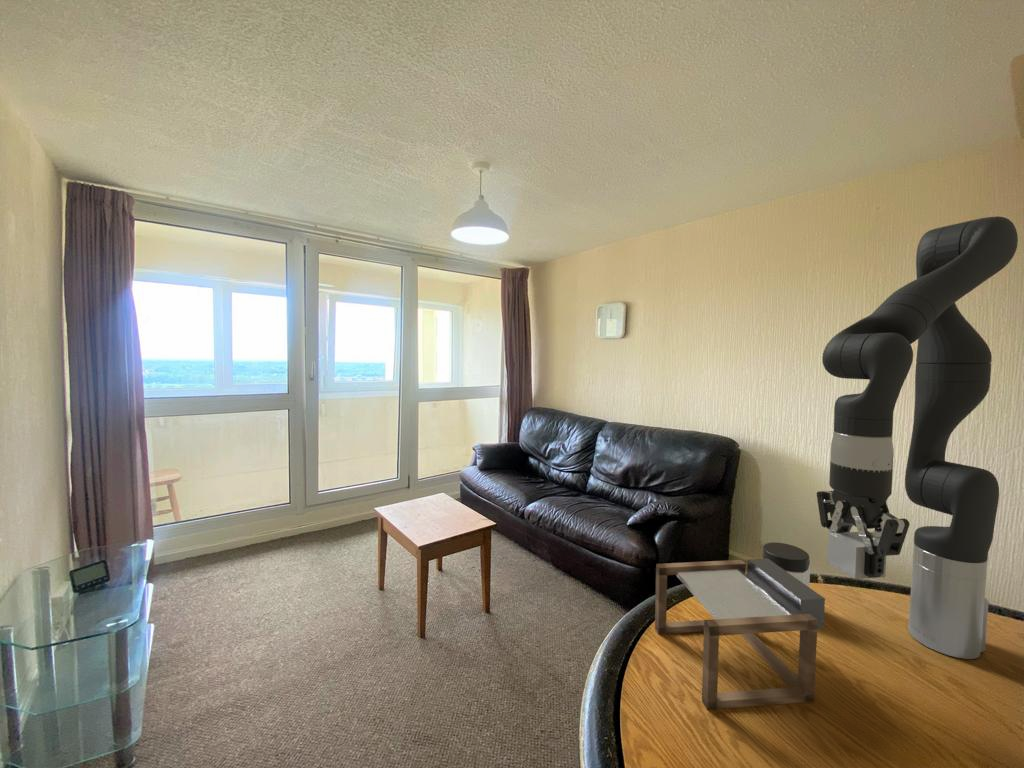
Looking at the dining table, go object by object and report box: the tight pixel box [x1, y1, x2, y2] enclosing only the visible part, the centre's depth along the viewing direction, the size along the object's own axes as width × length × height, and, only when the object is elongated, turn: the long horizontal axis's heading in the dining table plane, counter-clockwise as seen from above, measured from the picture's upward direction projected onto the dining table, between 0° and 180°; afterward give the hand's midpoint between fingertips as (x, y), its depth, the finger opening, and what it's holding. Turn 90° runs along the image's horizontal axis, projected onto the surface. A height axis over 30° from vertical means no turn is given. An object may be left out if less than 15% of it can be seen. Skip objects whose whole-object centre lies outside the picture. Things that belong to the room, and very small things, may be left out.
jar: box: [762, 541, 811, 588], centre depth 87 cm, size 9×8×12 cm
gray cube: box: [827, 531, 887, 580], centre depth 66 cm, size 5×5×5 cm
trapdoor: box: [676, 558, 826, 630], centre depth 72 cm, size 18×15×5 cm
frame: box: [654, 559, 818, 711], centre depth 72 cm, size 17×18×13 cm
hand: (855, 566), depth 66 cm, fingers closed on gray cube, 5 cm apart
